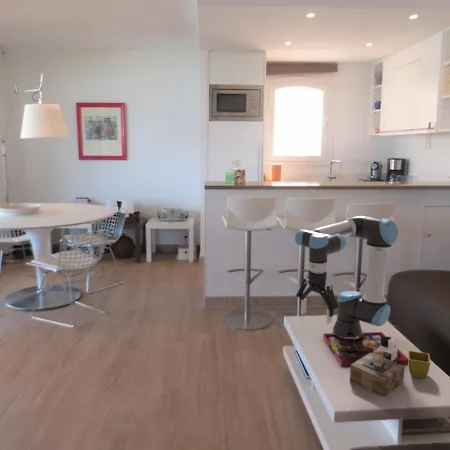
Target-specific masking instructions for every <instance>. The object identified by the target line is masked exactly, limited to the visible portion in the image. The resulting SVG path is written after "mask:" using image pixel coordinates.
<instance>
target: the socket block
mask: <svg viewBox="0 0 450 450" xmlns="http://www.w3.org/2000/svg"><path fill="white" fill-rule="evenodd" d="M373 353H374V352H369V353H367V354H366V355H364V356H363V357H361V358H359V359H357V360H356V361H355V362H353V363H351V364H350V372H349V373H350V374H349V382H350V383H352V384H355V385H356V386H359V387H360V388H363V389H365V390H367V391H369V392H371V393H374V394H376V395H378V396H380V397H382V398H385V397H386V396H388V395H389V394H390V393H391V392H393V391H394V390H396V389H397V388H398V387H399V386H401V385H402V384H404V375H405V365H403V364H401V363H398V362H397V361H396V362H393V361H391V360H388V359H386V358H383V366H382V368H380V369H379V368H377V367H375V366H373Z"/></svg>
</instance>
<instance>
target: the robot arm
mask: <svg viewBox="0 0 450 450" xmlns="http://www.w3.org/2000/svg"><path fill="white" fill-rule="evenodd" d="M397 226H398V225H397V224H396V222H395V221H393V220H392V219H387V218H385V217H378V216H377V217H376V216H370V215H356V216H351V217H348V218H344V219H342V220H340V222H335V223H332V224H327V225H324V226H321V227H317V228H313V229H302V228H301V229H299V230H297V231H296V233H295V237H294V241H295V243H296V245H298V246H301V247H303V248H308V249H309V250H308V252H309V253H308V254H309V255H308V257H309V258H308V276H307V277H305V278H302V283H301V285H300V286H299V289H298V291H297V293H296V297H297V298H299V306H300V314H301V315H304V314H306V313H307V301H308V300H307V298H306V297H307V296H309V294H310V293H312V292H314V293H317V294H319V295H320V296H321V297H322V299H323V301H324V302H325V304H326V306H327V307H328V308H327V309H326V321H325V322H326V323H325V324H327V325H329V324H331V323H332V322H333V316H335V313H334V311H335V310H336V309H337V313H336V321H335V323H334V325H333V328H332V334H333V335H334V336H335V335H339V336H343V337H356V336H361V335H362V336H363V329H362V325H361V322H363V323H366V324H369V325H371V326H375V327H382V326H384V325H385V324H386V323H387V322H388V319H389V317H390V315H391V306H390V305H389V304H387V298H386V297H385V283H386V275H387V274H386V273H387V272H386V271H387V262H388V254H389V253H388V252H389V249H391V248H392V245H394V244H396V241H397V238H398V237H399V235H398V234H399V233H398V227H397ZM346 238H358V239H362V240H366V246H367V247H368V249H369V250H368V261H367V274H366V284H365V294H363V295H362V293H361V292H360V291H355V290H346V291H341V292H340V293H339V294H338V295H337V296H338V297H337V299H336V296H335V293H334V289H333V285H332V284H329V285H328V284H327V283H326V282H327V279H328V278H327V277H328V276H327V275H328V272H327V271H328V256H329V255H331V254H336V253H338V252H340V251H342V250H344V249H345V247H346ZM307 286H308V288H306V287H307Z"/></svg>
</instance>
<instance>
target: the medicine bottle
mask: <svg viewBox="0 0 450 450" xmlns="http://www.w3.org/2000/svg"><path fill="white" fill-rule="evenodd" d="M395 343H396V341H395V338H393V337H391V336H382V337H381V338H380V345H379V346H378V347H377V348H376V349H379V350H382V351H383V358H386V359H388V360H391V361H393V360H394V359H395V358H396V357H397V358H398V350H399V349H398V347H395Z"/></svg>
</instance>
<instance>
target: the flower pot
mask: <svg viewBox="0 0 450 450" xmlns="http://www.w3.org/2000/svg"><path fill="white" fill-rule="evenodd" d="M407 351H408V352H407V354H408V355H407V357H408V358H407V359H408V360H407V361H408V370H409V374H410V375H411V377H413V378H414V377H415V378H421V379H424V378H425V377H427V376H428V373H429V371H430V365H431V358H430V357H431V356H430V353H428V352H427V353H426V352H419V351H412V350H407Z"/></svg>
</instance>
